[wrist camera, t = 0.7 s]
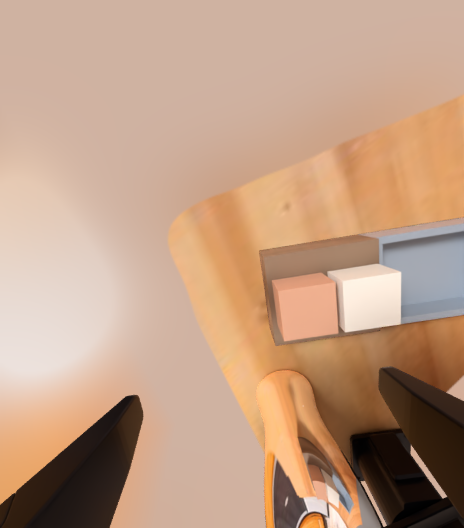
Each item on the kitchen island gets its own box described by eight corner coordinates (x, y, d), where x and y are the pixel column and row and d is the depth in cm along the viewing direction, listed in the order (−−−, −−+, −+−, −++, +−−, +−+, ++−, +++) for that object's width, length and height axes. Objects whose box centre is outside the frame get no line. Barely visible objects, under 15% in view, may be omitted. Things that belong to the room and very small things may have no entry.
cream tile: (378, 309, 19) (400, 324, 16) (330, 316, 19) (345, 332, 16) (377, 263, 18) (401, 271, 15) (327, 271, 18) (342, 281, 15)
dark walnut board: (360, 314, 22) (380, 330, 19) (269, 328, 22) (275, 345, 19) (357, 234, 20) (378, 238, 17) (259, 250, 20) (263, 257, 18)
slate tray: (467, 298, 22) (497, 309, 19) (360, 314, 22) (376, 327, 19) (474, 215, 20) (508, 216, 17) (357, 234, 20) (374, 237, 18)
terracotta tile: (324, 317, 19) (338, 333, 16) (277, 324, 19) (284, 341, 16) (321, 272, 18) (335, 282, 15) (271, 280, 18) (277, 291, 16)
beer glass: (308, 422, 25) (415, 718, 10) (247, 415, 25) (268, 708, 10) (322, 369, 23) (472, 632, 9) (257, 361, 23) (300, 617, 9)
